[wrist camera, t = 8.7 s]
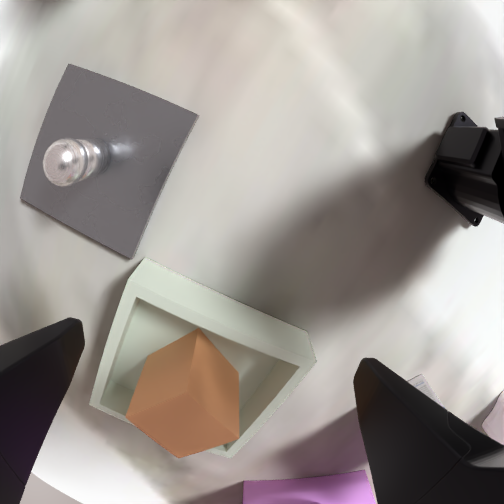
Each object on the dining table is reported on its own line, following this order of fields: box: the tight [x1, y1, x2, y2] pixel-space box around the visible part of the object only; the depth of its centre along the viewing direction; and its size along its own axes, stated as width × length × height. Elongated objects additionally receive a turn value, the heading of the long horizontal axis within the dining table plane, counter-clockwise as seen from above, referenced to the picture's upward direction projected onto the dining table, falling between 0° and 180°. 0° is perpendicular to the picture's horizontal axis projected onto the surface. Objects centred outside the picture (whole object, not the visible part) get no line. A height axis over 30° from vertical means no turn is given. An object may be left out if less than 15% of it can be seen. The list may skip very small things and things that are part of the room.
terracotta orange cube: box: [125, 328, 239, 458], centre depth 19 cm, size 5×5×6 cm
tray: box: [89, 257, 317, 458], centre depth 21 cm, size 13×13×4 cm
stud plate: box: [20, 64, 199, 259], centre depth 15 cm, size 10×10×6 cm
